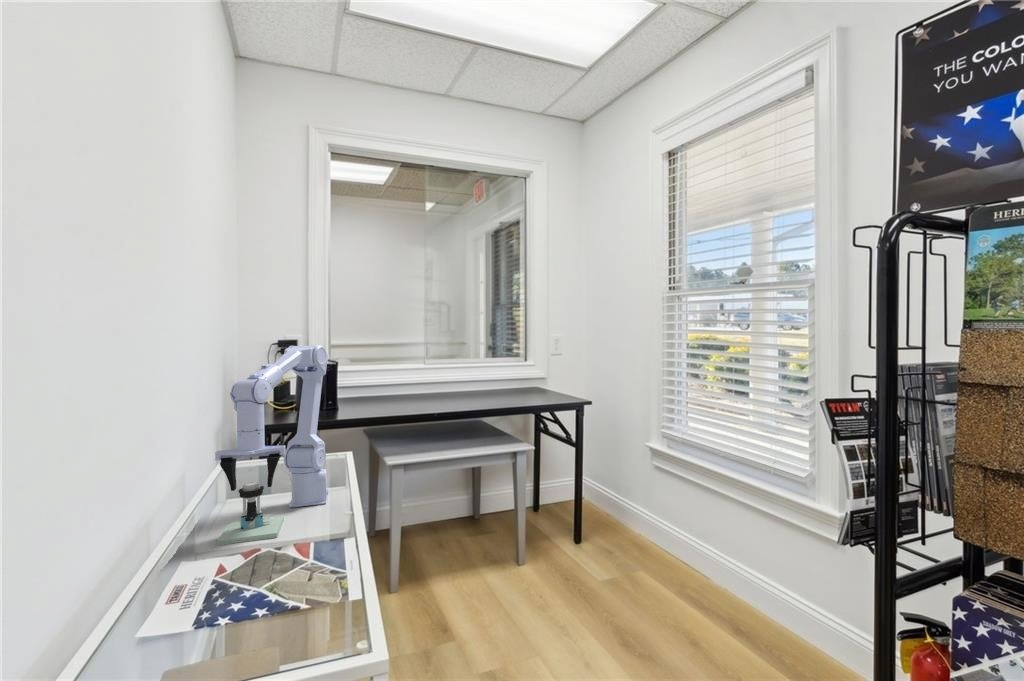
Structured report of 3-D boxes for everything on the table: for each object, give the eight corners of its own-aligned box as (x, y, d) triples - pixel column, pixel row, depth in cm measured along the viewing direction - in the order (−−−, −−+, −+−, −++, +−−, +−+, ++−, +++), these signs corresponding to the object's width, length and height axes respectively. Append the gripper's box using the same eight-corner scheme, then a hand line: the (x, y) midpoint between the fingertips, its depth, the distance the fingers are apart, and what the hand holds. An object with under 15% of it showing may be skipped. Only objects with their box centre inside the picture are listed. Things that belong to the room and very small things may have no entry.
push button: (270, 520, 121) (269, 479, 121) (271, 527, 116) (270, 484, 116) (239, 525, 117) (238, 483, 118) (238, 532, 113) (237, 488, 113)
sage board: (283, 520, 123) (283, 516, 123) (277, 537, 112) (277, 532, 112) (229, 527, 120) (229, 522, 120) (217, 545, 108) (217, 540, 108)
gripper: (211, 435, 110) (212, 496, 110) (282, 430, 115) (283, 488, 114) (219, 430, 117) (220, 488, 117) (286, 425, 121) (287, 481, 121)
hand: (251, 487), depth 116 cm, fingers open, 7 cm apart
